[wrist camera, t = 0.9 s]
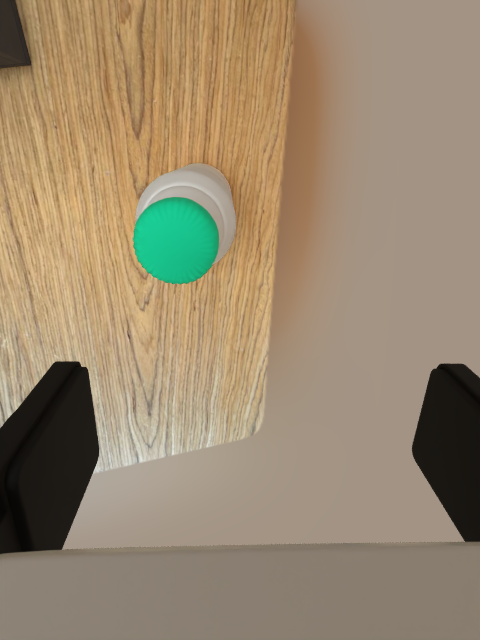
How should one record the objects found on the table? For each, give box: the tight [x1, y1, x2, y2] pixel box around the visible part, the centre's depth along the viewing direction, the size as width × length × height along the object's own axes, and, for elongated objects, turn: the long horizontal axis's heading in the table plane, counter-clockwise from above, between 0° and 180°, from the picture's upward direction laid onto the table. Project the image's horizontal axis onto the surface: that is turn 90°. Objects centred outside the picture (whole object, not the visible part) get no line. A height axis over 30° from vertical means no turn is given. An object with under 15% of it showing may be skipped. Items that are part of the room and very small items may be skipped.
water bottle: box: [133, 163, 236, 284], centre depth 33 cm, size 7×7×25 cm
